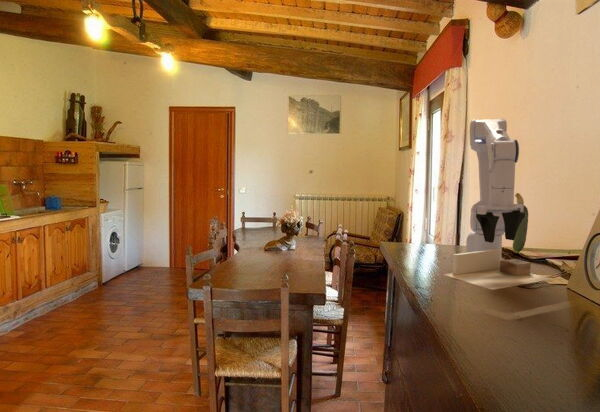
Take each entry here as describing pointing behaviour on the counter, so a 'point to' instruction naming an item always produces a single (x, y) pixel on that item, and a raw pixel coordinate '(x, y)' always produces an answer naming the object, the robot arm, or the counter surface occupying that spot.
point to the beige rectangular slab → (476, 261)
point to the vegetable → (521, 228)
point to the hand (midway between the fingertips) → (499, 240)
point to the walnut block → (515, 267)
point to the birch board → (496, 278)
